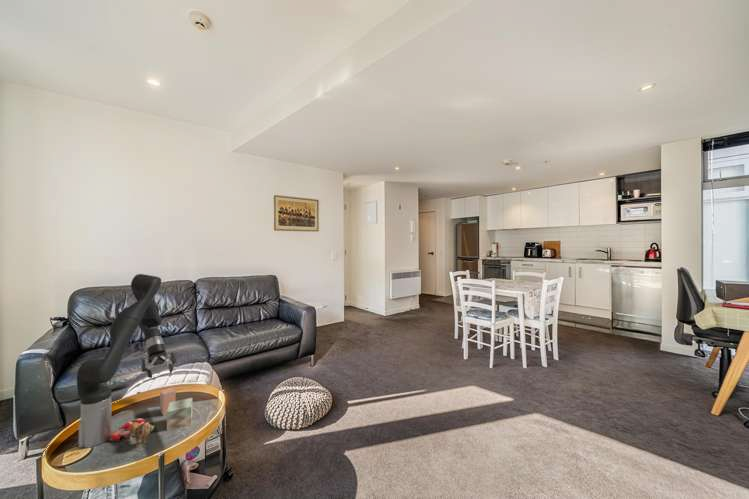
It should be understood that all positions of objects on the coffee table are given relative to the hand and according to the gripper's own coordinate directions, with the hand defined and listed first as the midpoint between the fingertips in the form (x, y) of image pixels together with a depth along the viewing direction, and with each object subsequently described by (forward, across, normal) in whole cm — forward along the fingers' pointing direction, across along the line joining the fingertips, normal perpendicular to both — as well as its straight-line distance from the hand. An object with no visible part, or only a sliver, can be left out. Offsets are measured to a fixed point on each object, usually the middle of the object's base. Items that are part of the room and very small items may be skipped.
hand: (161, 374), depth 150 cm
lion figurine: (+31, -14, -10) cm, 35 cm away
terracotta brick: (+18, 0, +2) cm, 19 cm away
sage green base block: (+28, +1, -8) cm, 30 cm away
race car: (+23, -16, -2) cm, 28 cm away
